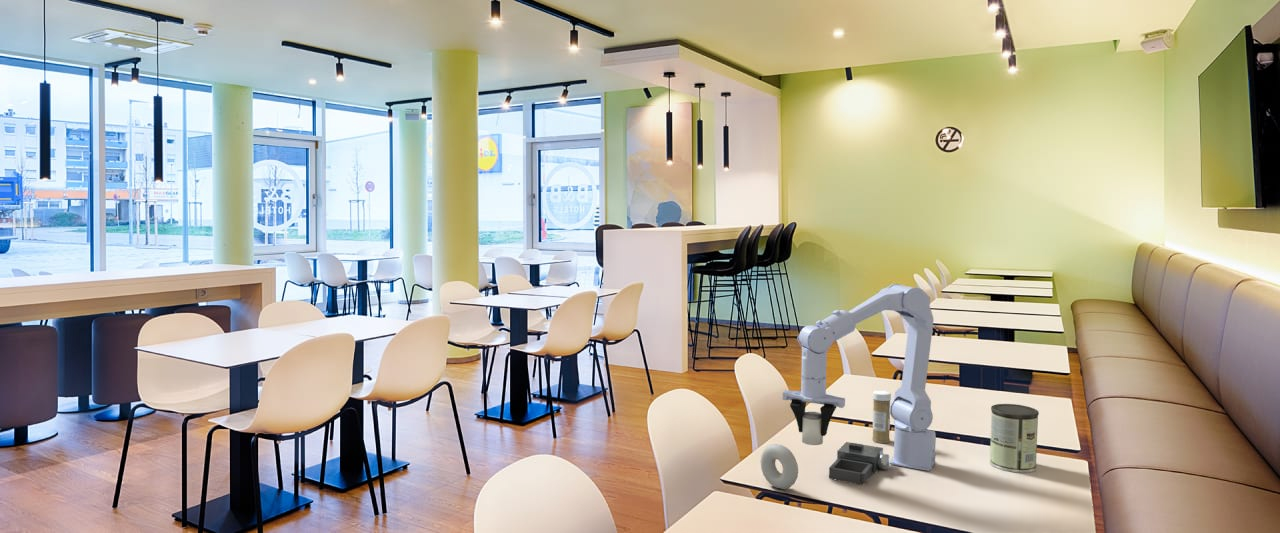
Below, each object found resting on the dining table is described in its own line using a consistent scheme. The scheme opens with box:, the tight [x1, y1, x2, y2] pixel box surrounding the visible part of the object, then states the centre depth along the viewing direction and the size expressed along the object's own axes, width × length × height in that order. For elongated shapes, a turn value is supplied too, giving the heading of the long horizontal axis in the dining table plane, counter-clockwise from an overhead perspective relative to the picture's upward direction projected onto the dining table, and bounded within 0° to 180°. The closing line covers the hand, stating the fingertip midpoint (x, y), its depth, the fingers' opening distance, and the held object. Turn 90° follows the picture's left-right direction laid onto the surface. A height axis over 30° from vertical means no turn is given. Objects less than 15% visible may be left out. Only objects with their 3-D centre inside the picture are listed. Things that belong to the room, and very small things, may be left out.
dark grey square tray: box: [828, 458, 873, 485], centre depth 173 cm, size 8×9×2 cm
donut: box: [760, 443, 799, 490], centre depth 165 cm, size 10×4×10 cm, turn 38°
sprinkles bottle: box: [872, 390, 892, 444], centre depth 198 cm, size 5×5×14 cm
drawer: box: [836, 441, 890, 475], centre depth 179 cm, size 11×8×5 cm
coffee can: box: [989, 403, 1040, 474], centre depth 179 cm, size 10×10×14 cm
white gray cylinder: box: [801, 411, 824, 446], centre depth 175 cm, size 5×5×7 cm
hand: (812, 432), depth 175 cm, fingers closed on white gray cylinder, 5 cm apart
